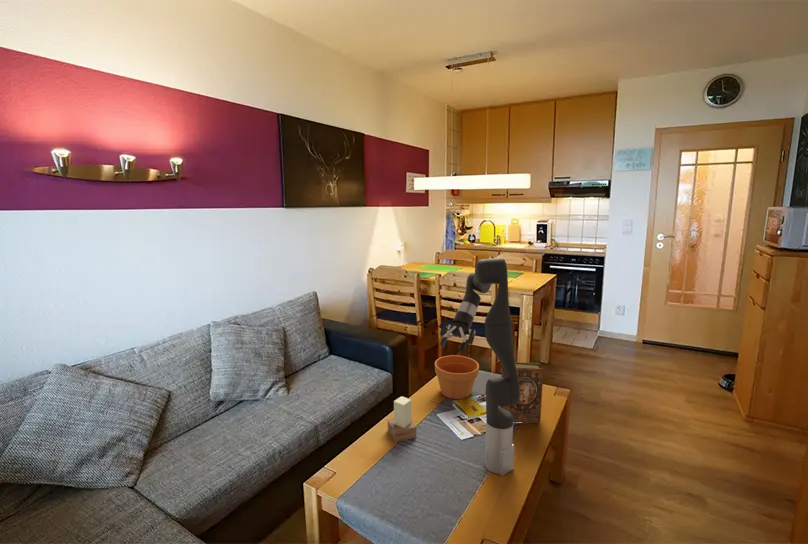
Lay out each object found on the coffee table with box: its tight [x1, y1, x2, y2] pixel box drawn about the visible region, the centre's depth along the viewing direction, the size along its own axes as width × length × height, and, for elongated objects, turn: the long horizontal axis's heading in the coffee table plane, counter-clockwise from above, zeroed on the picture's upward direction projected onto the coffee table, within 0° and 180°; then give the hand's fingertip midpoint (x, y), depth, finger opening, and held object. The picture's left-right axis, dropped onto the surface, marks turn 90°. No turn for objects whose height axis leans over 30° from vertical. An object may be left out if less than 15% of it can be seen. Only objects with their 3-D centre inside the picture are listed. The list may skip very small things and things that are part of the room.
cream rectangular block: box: [393, 395, 413, 428], centre depth 164 cm, size 5×5×10 cm
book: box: [499, 361, 544, 425], centre depth 173 cm, size 16×6×25 cm, turn 84°
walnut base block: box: [387, 418, 417, 444], centre depth 165 cm, size 9×9×5 cm
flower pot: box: [434, 354, 480, 400], centre depth 198 cm, size 21×21×15 cm
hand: (451, 349), depth 165 cm, fingers open, 8 cm apart
